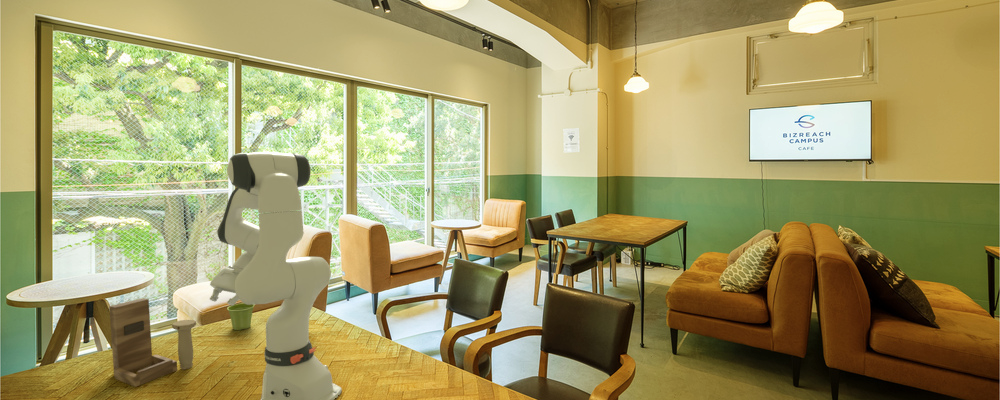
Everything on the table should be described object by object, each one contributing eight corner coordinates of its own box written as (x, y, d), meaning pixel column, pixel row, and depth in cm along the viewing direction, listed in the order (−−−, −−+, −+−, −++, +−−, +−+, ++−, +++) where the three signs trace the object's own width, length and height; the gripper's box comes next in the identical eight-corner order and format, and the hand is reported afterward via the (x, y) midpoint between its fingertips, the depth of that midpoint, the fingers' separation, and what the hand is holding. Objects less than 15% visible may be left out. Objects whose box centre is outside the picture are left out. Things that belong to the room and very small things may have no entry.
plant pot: (237, 322, 178) (237, 302, 178) (260, 323, 178) (259, 303, 177) (222, 331, 169) (221, 310, 168) (246, 332, 169) (245, 310, 168)
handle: (182, 363, 142) (180, 319, 141) (201, 364, 142) (199, 320, 141) (171, 370, 137) (168, 325, 136) (190, 371, 137) (188, 325, 136)
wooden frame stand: (177, 370, 138) (173, 303, 136) (135, 386, 128) (130, 314, 126) (151, 361, 144) (147, 296, 142) (109, 376, 133) (104, 307, 131)
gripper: (221, 260, 159) (195, 293, 151) (259, 266, 151) (233, 302, 143) (233, 269, 163) (208, 302, 155) (271, 276, 155) (246, 311, 147)
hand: (220, 302), depth 149 cm, fingers open, 8 cm apart
